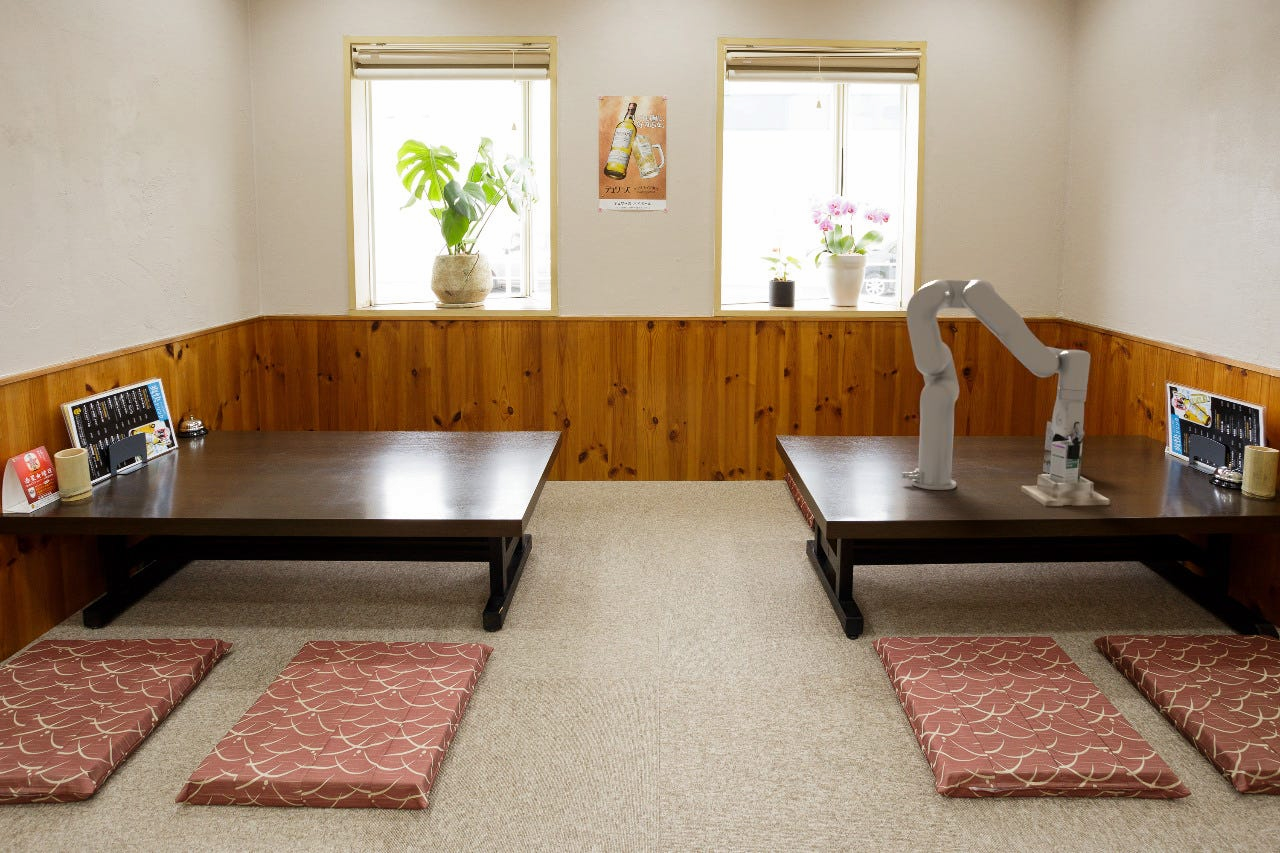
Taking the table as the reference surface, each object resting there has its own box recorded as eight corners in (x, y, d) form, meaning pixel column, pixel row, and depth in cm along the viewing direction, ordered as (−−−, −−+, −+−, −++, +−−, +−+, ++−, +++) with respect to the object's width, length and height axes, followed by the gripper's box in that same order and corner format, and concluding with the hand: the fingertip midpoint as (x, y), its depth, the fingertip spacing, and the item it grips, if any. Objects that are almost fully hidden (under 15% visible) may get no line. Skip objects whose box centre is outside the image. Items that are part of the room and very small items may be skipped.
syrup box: (1062, 495, 288) (1066, 445, 285) (1048, 490, 293) (1051, 440, 290) (1079, 493, 289) (1083, 443, 287) (1064, 488, 295) (1068, 439, 292)
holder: (1044, 505, 283) (1046, 486, 282) (1021, 490, 299) (1022, 472, 298) (1109, 504, 284) (1110, 485, 283) (1082, 489, 299) (1083, 471, 298)
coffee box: (1054, 476, 315) (1058, 424, 312) (1042, 471, 321) (1045, 420, 318) (1081, 474, 317) (1085, 423, 314) (1068, 469, 323) (1072, 419, 320)
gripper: (1044, 389, 294) (1038, 447, 297) (1072, 400, 277) (1065, 462, 280) (1070, 389, 294) (1064, 447, 298) (1099, 400, 277) (1092, 462, 281)
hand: (1064, 454), depth 289 cm, fingers open, 9 cm apart
